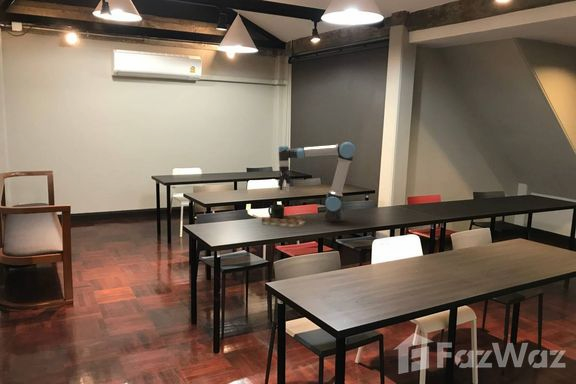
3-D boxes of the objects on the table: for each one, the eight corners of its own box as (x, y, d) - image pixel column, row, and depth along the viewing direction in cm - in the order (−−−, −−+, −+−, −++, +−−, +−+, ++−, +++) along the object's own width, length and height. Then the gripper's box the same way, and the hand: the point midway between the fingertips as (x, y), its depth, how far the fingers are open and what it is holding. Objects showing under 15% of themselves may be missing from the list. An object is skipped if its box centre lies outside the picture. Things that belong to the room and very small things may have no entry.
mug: (278, 222, 357) (278, 207, 355) (264, 220, 366) (264, 205, 364) (287, 220, 366) (287, 205, 364) (272, 218, 374) (272, 203, 373)
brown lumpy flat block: (305, 223, 365) (305, 217, 365) (298, 227, 350) (298, 220, 350) (270, 220, 376) (270, 214, 375) (262, 224, 361) (262, 217, 361)
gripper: (285, 164, 376) (285, 190, 379) (273, 167, 353) (274, 195, 356) (293, 164, 373) (294, 190, 376) (282, 167, 350) (283, 195, 353)
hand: (284, 193), depth 366 cm, fingers open, 13 cm apart
